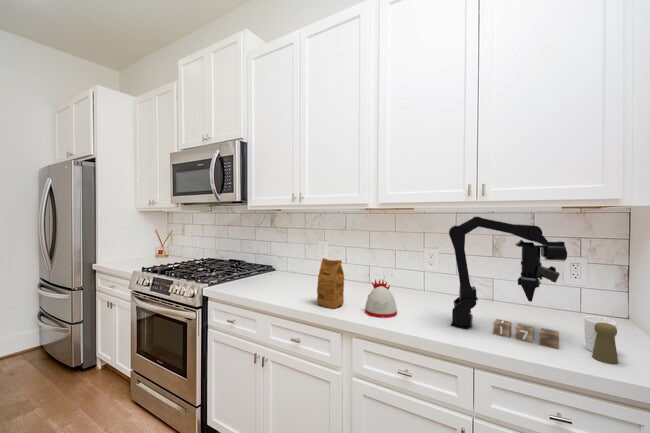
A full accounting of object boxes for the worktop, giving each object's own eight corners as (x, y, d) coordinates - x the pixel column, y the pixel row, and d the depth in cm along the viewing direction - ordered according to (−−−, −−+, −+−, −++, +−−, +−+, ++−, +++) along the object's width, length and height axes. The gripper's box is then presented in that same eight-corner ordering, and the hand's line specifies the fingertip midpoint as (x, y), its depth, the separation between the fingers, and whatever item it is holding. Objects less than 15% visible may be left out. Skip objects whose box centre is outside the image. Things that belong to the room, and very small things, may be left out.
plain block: (539, 345, 104) (539, 332, 104) (540, 340, 108) (541, 327, 108) (558, 349, 101) (558, 335, 101) (558, 344, 105) (559, 331, 105)
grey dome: (365, 307, 145) (366, 275, 144) (395, 308, 142) (396, 276, 142) (364, 316, 131) (364, 281, 131) (397, 319, 129) (398, 283, 128)
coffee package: (326, 300, 155) (327, 256, 155) (346, 305, 147) (347, 259, 147) (313, 304, 147) (313, 258, 147) (333, 310, 139) (334, 261, 139)
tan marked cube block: (515, 339, 109) (515, 326, 109) (517, 335, 113) (517, 322, 113) (532, 343, 106) (532, 330, 106) (533, 338, 110) (534, 326, 110)
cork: (605, 354, 98) (605, 320, 98) (624, 364, 92) (625, 327, 91) (586, 354, 97) (587, 320, 97) (604, 364, 91) (605, 327, 91)
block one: (493, 334, 113) (493, 322, 113) (496, 330, 117) (496, 318, 117) (508, 338, 110) (509, 325, 110) (511, 333, 114) (511, 321, 114)
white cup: (620, 358, 96) (621, 326, 95) (589, 353, 98) (590, 322, 98) (608, 347, 103) (609, 318, 103) (579, 343, 106) (580, 314, 106)
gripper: (557, 264, 101) (556, 312, 101) (558, 258, 116) (558, 299, 116) (517, 261, 108) (517, 305, 108) (523, 255, 123) (523, 294, 123)
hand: (530, 301), depth 114 cm, fingers closed
